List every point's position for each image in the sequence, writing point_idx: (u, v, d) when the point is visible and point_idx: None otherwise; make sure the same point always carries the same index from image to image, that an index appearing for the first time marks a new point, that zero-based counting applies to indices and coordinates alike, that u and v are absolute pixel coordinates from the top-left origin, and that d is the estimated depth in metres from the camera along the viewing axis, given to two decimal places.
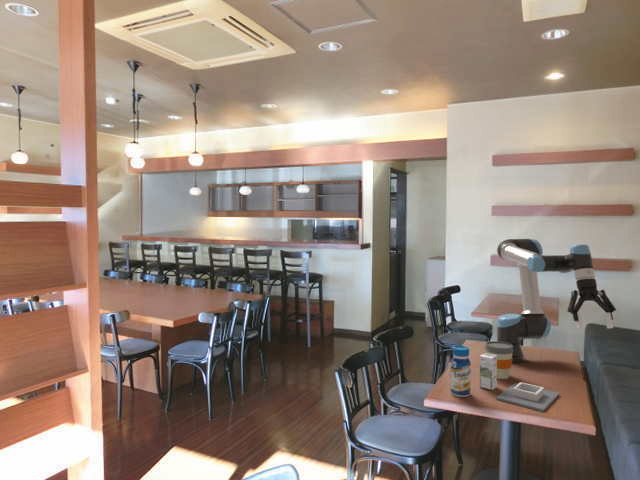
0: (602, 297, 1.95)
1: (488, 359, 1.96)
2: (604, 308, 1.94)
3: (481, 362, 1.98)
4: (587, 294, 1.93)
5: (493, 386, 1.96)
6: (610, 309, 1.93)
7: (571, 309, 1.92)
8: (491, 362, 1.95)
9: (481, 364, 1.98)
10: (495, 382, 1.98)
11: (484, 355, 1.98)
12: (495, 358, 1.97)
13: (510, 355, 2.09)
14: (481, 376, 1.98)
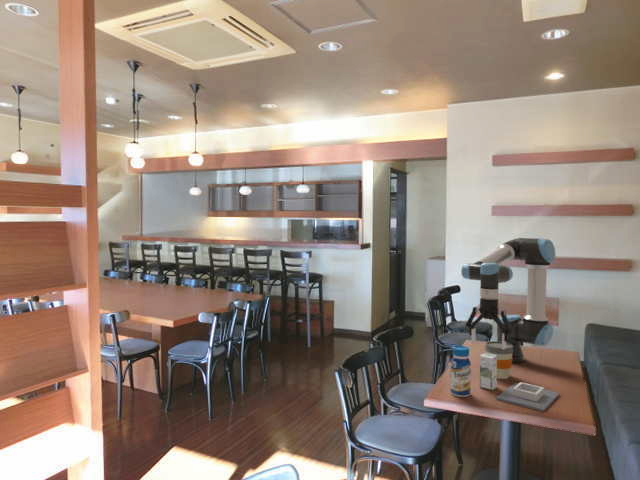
0: None
1: (488, 359, 1.96)
2: None
3: (481, 362, 1.98)
4: (483, 313, 1.97)
5: (493, 386, 1.96)
6: (505, 331, 1.92)
7: (466, 324, 2.03)
8: (491, 362, 1.95)
9: (481, 364, 1.98)
10: (495, 382, 1.98)
11: (484, 355, 1.98)
12: (495, 358, 1.97)
13: (510, 355, 2.09)
14: (481, 376, 1.98)
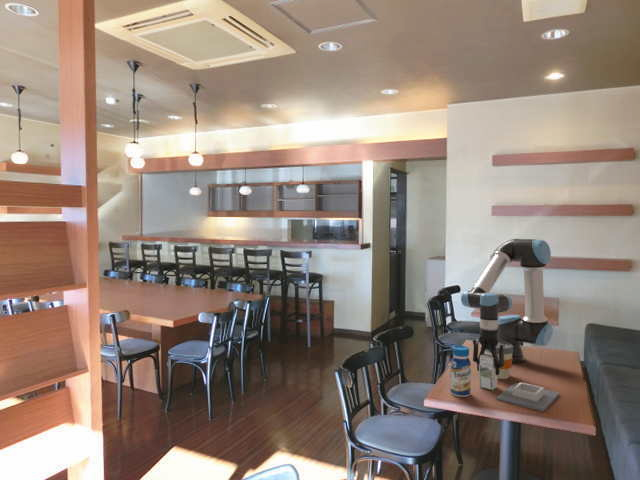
0: None
1: (488, 359, 1.96)
2: None
3: (481, 362, 1.98)
4: (483, 344, 1.98)
5: (493, 386, 1.96)
6: (497, 365, 1.95)
7: (473, 359, 2.02)
8: (491, 362, 1.95)
9: (481, 364, 1.98)
10: (495, 382, 1.98)
11: (484, 355, 1.98)
12: None
13: (510, 355, 2.09)
14: (481, 376, 1.98)
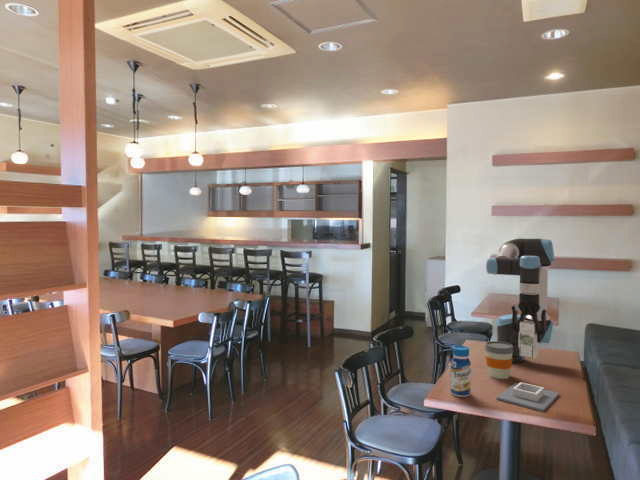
0: None
1: (529, 325, 1.83)
2: None
3: (521, 329, 1.86)
4: (523, 310, 1.86)
5: (534, 354, 1.84)
6: (538, 332, 1.83)
7: (512, 327, 1.90)
8: (532, 328, 1.83)
9: (521, 331, 1.86)
10: None
11: (524, 322, 1.86)
12: None
13: (510, 355, 2.09)
14: (521, 344, 1.86)
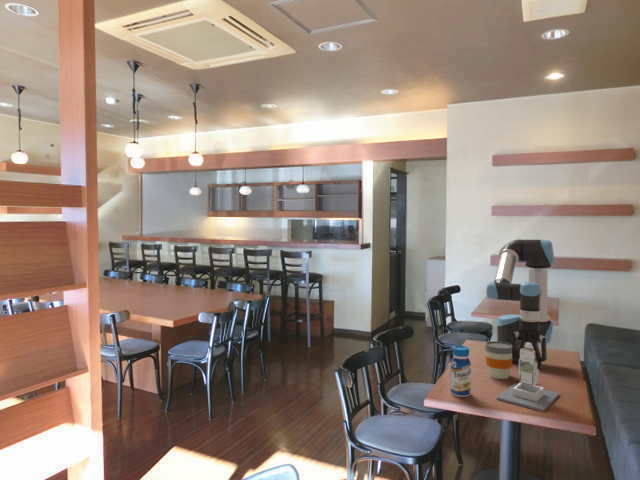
0: None
1: (529, 353, 1.84)
2: None
3: (521, 356, 1.86)
4: (523, 337, 1.86)
5: (534, 381, 1.85)
6: (539, 359, 1.83)
7: (512, 353, 1.90)
8: (533, 356, 1.83)
9: (521, 358, 1.86)
10: None
11: (524, 348, 1.87)
12: None
13: (510, 355, 2.09)
14: (521, 371, 1.86)
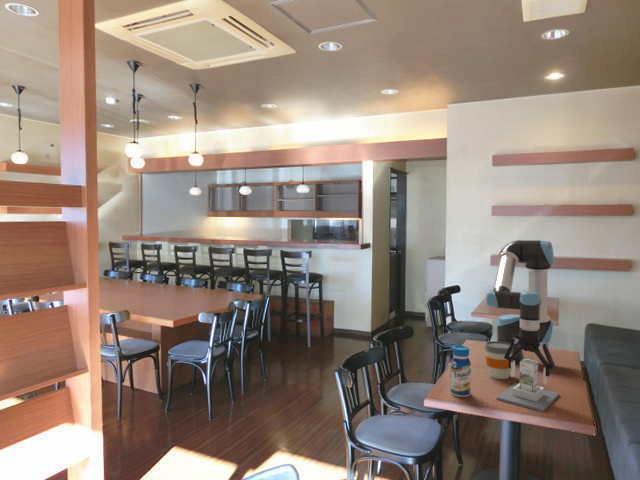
0: None
1: (529, 365, 1.84)
2: None
3: (521, 368, 1.86)
4: (523, 345, 1.87)
5: None
6: (547, 365, 1.81)
7: (505, 356, 1.92)
8: (532, 368, 1.83)
9: (521, 370, 1.86)
10: (536, 389, 1.87)
11: (524, 361, 1.87)
12: (536, 364, 1.86)
13: (510, 355, 2.09)
14: (521, 383, 1.87)
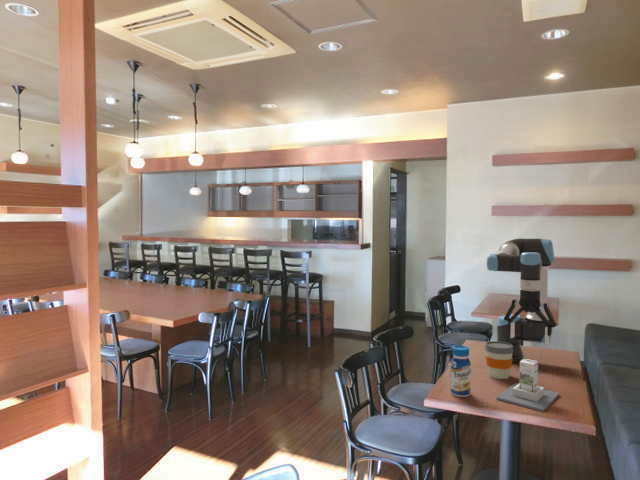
0: None
1: (529, 365, 1.84)
2: None
3: (521, 368, 1.86)
4: (523, 306, 1.86)
5: None
6: (548, 325, 1.80)
7: (504, 318, 1.92)
8: (532, 368, 1.83)
9: (521, 370, 1.86)
10: (536, 389, 1.87)
11: (524, 361, 1.87)
12: (536, 364, 1.86)
13: (510, 355, 2.09)
14: (521, 383, 1.87)
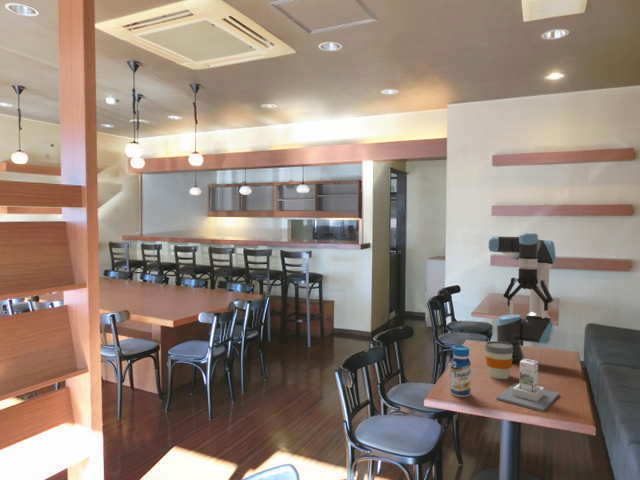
0: None
1: (529, 365, 1.84)
2: None
3: (521, 368, 1.86)
4: (522, 283, 1.98)
5: None
6: (545, 300, 1.93)
7: (504, 295, 2.05)
8: (532, 368, 1.83)
9: (521, 370, 1.86)
10: (536, 389, 1.87)
11: (524, 361, 1.87)
12: (536, 364, 1.86)
13: (510, 355, 2.09)
14: (521, 383, 1.87)
